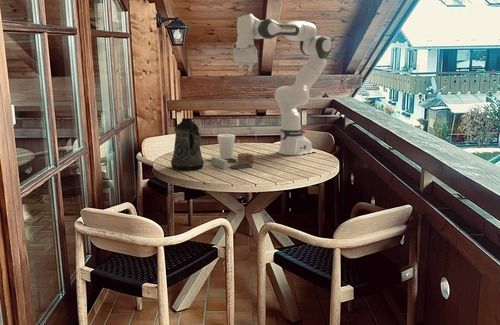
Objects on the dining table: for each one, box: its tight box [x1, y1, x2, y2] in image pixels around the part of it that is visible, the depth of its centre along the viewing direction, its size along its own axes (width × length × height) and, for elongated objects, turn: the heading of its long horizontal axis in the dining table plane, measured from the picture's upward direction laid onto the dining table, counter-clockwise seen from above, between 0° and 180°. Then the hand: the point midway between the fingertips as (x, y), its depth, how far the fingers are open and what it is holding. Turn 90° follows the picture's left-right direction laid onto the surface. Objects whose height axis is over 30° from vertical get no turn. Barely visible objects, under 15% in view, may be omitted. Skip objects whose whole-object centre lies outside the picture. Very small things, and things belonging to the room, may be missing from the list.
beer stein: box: [170, 118, 205, 172], centre depth 253 cm, size 16×19×25 cm
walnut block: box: [237, 152, 254, 165], centre depth 267 cm, size 6×6×5 cm
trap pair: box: [224, 157, 253, 170], centre depth 263 cm, size 10×21×1 cm, turn 31°
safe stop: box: [211, 155, 229, 170], centre depth 259 cm, size 2×14×4 cm, turn 30°
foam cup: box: [217, 133, 236, 159], centre depth 279 cm, size 10×9×13 cm
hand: (245, 71), depth 271 cm, fingers open, 8 cm apart
